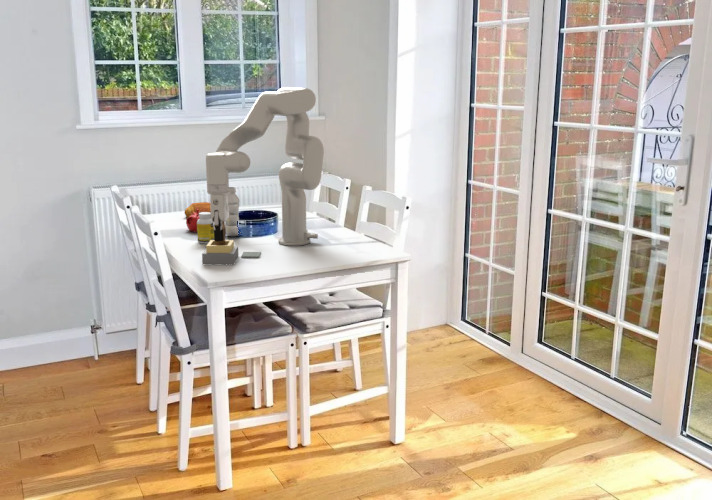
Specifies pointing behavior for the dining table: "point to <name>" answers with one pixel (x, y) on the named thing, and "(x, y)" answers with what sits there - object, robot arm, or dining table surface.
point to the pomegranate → (193, 221)
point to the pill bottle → (205, 228)
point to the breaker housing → (220, 253)
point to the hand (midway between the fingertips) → (220, 239)
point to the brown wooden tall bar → (223, 234)
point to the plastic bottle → (232, 213)
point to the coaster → (251, 255)
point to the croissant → (194, 206)
